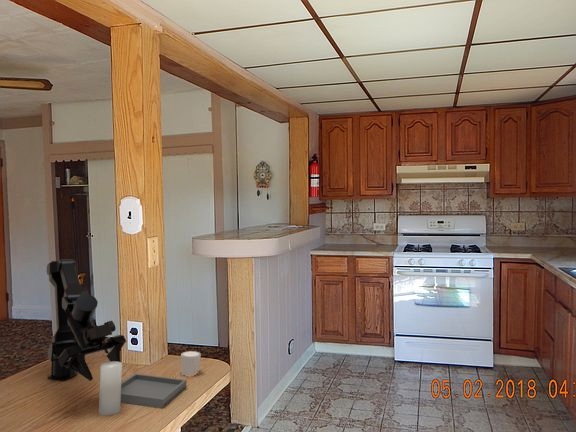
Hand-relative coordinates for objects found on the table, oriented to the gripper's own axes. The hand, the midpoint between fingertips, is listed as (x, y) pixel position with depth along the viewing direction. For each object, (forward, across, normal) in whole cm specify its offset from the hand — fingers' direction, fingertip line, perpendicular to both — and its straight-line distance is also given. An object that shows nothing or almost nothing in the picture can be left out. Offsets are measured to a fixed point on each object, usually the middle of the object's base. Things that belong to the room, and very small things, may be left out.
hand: (106, 375), depth 129 cm
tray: (+7, +15, +6) cm, 18 cm away
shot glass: (+6, +35, +8) cm, 36 cm away
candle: (+8, 0, +5) cm, 10 cm away
